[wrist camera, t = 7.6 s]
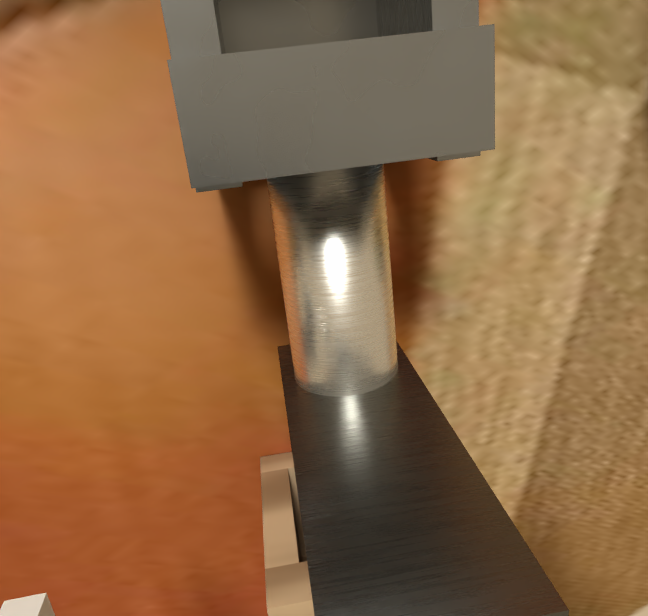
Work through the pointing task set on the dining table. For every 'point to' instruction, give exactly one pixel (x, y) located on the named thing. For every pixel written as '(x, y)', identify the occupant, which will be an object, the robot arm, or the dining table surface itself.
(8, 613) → the robot arm
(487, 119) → the sleeve
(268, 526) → the socket
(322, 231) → the sliding bolt
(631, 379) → the dining table surface
